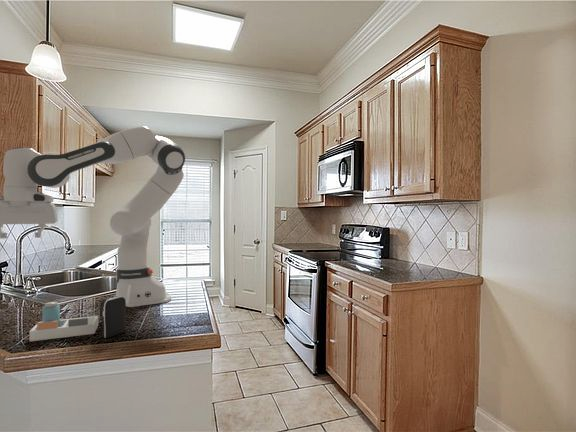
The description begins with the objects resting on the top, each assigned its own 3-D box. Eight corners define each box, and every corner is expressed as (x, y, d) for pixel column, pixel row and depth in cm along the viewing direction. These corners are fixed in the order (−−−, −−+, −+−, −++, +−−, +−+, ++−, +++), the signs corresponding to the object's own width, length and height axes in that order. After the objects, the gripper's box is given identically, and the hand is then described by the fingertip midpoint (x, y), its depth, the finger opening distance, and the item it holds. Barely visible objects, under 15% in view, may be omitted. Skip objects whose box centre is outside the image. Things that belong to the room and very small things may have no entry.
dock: (98, 324, 113) (98, 309, 113) (94, 333, 104) (94, 317, 104) (38, 331, 106) (38, 315, 106) (29, 341, 98) (29, 324, 98)
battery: (118, 330, 108) (117, 294, 108) (126, 331, 106) (126, 295, 106) (97, 337, 101) (97, 299, 101) (106, 339, 100) (106, 300, 100)
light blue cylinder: (61, 329, 107) (61, 300, 107) (58, 333, 103) (57, 303, 103) (44, 331, 105) (44, 302, 105) (40, 335, 101) (40, 305, 101)
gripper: (-24, 195, 106) (-24, 239, 106) (54, 196, 114) (54, 237, 114) (-15, 196, 111) (-15, 238, 112) (58, 197, 119) (59, 236, 119)
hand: (21, 237), depth 113 cm, fingers open, 8 cm apart
